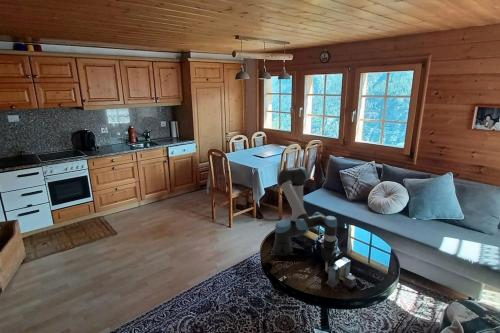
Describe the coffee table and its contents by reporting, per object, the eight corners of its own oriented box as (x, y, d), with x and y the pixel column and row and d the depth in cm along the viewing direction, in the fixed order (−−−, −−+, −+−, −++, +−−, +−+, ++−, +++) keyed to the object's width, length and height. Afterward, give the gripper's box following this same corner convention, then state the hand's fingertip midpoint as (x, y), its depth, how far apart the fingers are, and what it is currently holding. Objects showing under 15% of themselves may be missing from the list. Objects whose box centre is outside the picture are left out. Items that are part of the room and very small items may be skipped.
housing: (325, 283, 184) (326, 266, 181) (344, 271, 196) (345, 255, 193) (332, 287, 180) (334, 271, 177) (351, 275, 192) (352, 259, 189)
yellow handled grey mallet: (326, 273, 194) (326, 266, 192) (329, 271, 196) (330, 263, 194) (351, 288, 179) (351, 280, 178) (354, 285, 182) (355, 277, 180)
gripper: (318, 237, 191) (316, 268, 197) (334, 245, 181) (331, 277, 188) (325, 233, 196) (323, 264, 202) (341, 241, 186) (338, 272, 192)
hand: (327, 270), depth 195 cm, fingers closed
